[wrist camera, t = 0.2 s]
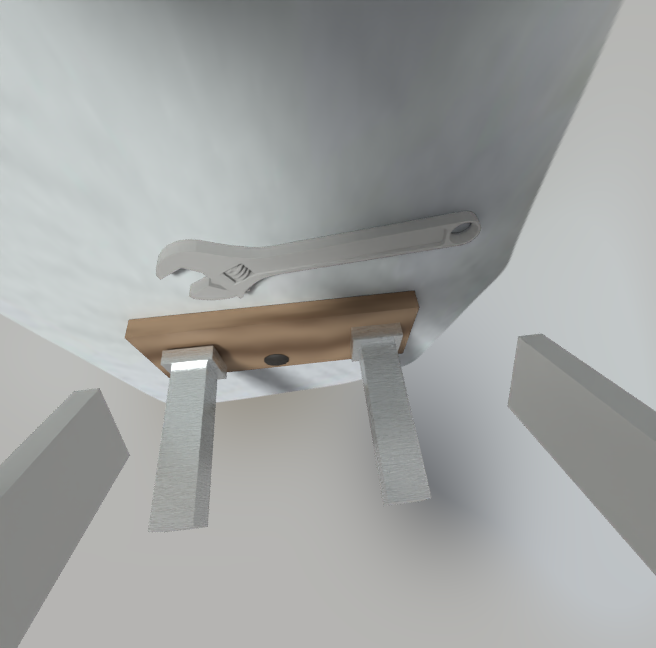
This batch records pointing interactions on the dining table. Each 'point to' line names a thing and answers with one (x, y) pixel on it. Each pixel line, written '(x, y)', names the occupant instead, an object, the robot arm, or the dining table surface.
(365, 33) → the dining table surface
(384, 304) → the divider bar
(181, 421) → the block
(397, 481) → the fixed leg
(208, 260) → the adjustable wrench
